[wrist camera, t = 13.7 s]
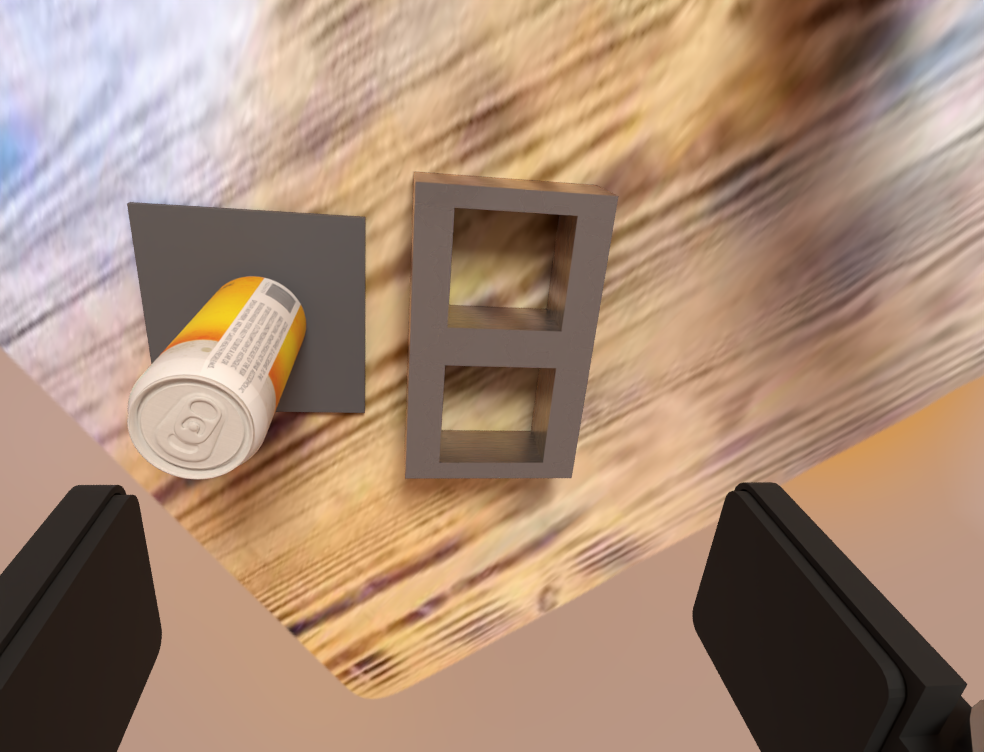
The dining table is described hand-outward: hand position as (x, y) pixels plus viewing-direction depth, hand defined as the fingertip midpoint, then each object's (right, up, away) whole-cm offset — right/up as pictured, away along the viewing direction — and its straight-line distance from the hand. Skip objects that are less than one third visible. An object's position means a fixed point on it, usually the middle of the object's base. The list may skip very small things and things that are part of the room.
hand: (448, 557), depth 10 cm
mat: (-15, +7, +32) cm, 36 cm away
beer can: (-15, +7, +31) cm, 35 cm away
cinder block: (+1, +7, +34) cm, 35 cm away
